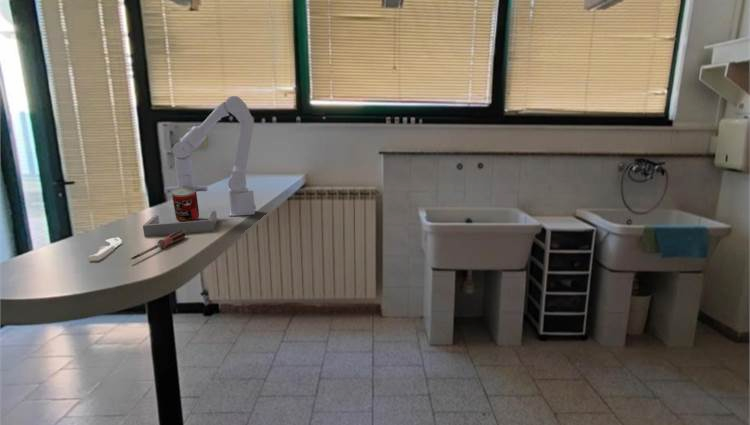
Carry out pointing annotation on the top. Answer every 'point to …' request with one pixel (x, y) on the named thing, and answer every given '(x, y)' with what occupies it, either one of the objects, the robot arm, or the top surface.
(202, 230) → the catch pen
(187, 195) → the canned food
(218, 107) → the robot arm
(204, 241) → the top surface
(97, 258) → the white elongated piece
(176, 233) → the screwdriver
